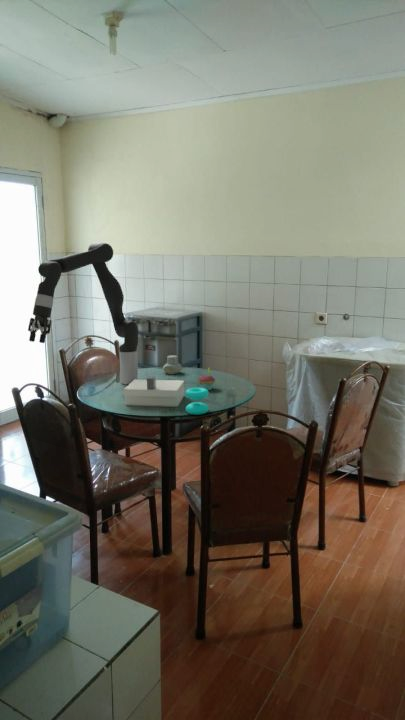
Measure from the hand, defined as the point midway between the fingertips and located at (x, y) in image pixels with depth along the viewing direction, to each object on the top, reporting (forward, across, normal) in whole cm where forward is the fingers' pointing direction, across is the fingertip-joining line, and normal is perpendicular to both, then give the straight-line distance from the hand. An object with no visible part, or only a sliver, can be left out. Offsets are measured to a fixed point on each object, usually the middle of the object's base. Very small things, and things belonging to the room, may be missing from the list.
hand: (36, 342), depth 226 cm
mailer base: (+17, -31, -48) cm, 59 cm away
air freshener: (+3, +3, -90) cm, 90 cm away
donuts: (+18, -58, -48) cm, 77 cm away
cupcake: (+8, -36, -77) cm, 85 cm away
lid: (+13, -32, -45) cm, 57 cm away
